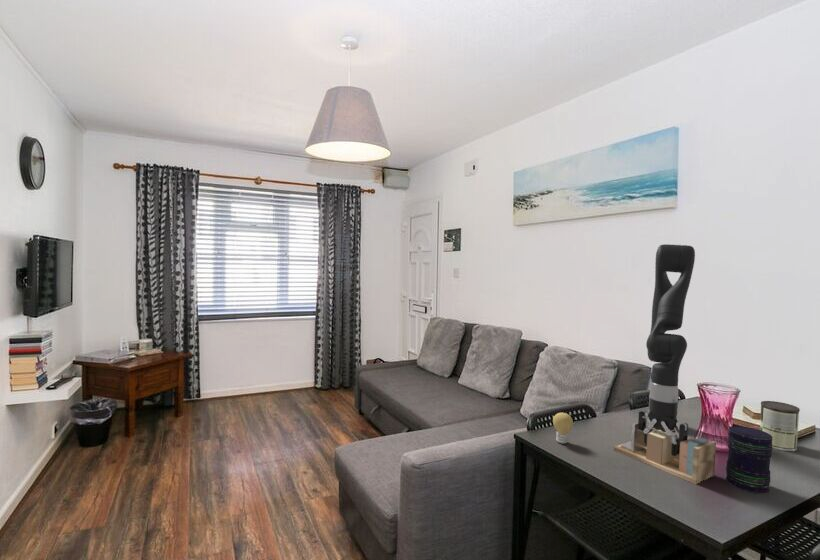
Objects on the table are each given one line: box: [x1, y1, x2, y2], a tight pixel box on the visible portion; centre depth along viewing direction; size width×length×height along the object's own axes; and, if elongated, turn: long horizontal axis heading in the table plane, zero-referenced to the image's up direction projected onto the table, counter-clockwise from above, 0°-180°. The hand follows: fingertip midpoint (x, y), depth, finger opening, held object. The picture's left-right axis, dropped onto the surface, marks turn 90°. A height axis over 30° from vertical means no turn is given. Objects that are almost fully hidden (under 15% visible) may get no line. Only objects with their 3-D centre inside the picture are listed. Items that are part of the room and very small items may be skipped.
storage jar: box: [725, 425, 773, 495], centre depth 120 cm, size 10×10×15 cm
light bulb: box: [552, 412, 574, 444], centre depth 146 cm, size 6×6×10 cm
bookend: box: [620, 420, 648, 452], centre depth 141 cm, size 7×4×9 cm, turn 121°
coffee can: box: [759, 400, 801, 452], centre depth 150 cm, size 10×10×14 cm
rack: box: [613, 429, 717, 485], centre depth 133 cm, size 10×25×10 cm, turn 31°
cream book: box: [646, 430, 674, 465], centre depth 133 cm, size 7×4×8 cm, turn 121°
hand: (660, 450), depth 133 cm, fingers open, 7 cm apart
